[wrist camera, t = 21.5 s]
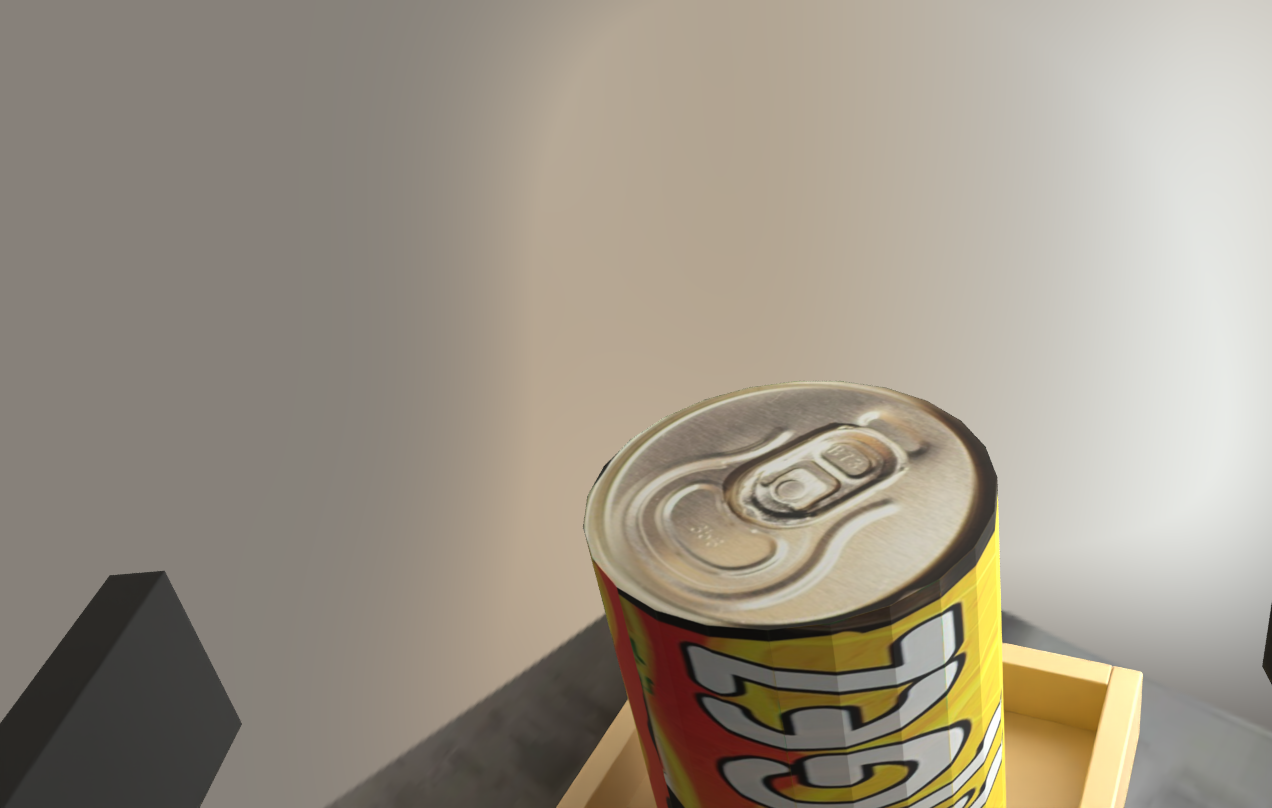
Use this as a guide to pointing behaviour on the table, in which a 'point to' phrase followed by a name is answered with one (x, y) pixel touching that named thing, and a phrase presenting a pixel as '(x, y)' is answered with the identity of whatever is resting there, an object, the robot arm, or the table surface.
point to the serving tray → (1033, 735)
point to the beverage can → (807, 601)
